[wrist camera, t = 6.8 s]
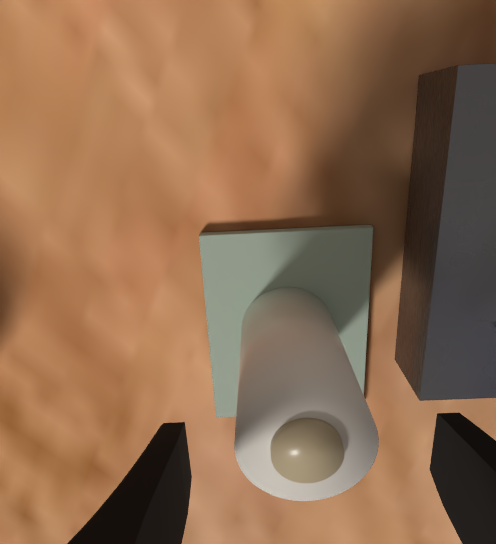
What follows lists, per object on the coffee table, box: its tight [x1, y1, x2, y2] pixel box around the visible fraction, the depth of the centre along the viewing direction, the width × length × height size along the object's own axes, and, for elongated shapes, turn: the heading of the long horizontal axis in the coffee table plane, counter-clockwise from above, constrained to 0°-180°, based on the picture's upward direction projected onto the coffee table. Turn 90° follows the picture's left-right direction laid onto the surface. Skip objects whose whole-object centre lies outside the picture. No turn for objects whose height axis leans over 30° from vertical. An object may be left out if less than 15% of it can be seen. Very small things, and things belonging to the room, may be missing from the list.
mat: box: [199, 225, 373, 417], centre depth 18 cm, size 9×7×1 cm
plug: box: [235, 287, 379, 501], centre depth 15 cm, size 4×4×7 cm
